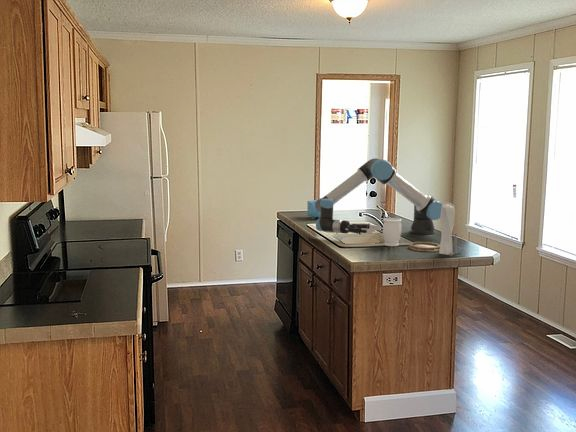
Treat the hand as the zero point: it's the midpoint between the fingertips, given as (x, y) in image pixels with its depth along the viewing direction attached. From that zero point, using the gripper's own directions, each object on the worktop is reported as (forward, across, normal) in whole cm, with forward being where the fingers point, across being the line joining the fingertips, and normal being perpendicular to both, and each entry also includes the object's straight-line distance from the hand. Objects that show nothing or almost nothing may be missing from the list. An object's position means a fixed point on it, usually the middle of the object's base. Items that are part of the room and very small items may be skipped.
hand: (376, 229), depth 348 cm
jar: (+9, 0, -8) cm, 12 cm away
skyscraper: (+42, +7, -8) cm, 43 cm away
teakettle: (-64, -68, -8) cm, 94 cm away
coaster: (+28, 0, -8) cm, 29 cm away
